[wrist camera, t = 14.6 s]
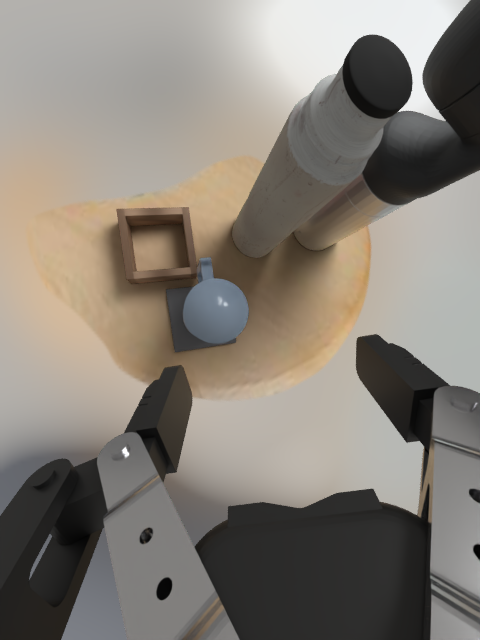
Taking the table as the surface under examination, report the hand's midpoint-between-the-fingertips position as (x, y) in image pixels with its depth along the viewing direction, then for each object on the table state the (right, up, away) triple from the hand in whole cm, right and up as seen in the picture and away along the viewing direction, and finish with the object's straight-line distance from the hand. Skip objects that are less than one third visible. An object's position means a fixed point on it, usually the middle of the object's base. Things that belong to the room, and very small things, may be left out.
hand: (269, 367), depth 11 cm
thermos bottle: (+1, +17, +31) cm, 36 cm away
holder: (-14, +13, +27) cm, 33 cm away
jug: (-8, +4, +28) cm, 29 cm away
